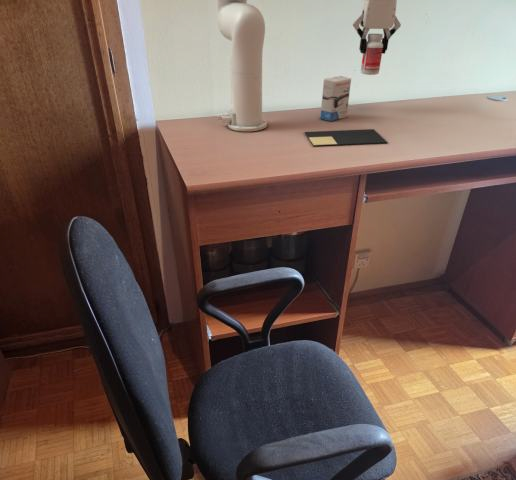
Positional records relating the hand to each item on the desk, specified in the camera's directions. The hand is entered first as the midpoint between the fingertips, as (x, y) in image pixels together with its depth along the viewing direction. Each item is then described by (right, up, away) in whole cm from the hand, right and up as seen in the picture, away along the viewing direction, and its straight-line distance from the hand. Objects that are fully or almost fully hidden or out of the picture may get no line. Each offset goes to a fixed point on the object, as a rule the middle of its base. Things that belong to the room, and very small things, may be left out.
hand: (372, 52), depth 148 cm
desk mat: (-12, -34, -13) cm, 39 cm away
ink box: (-12, -20, +4) cm, 24 cm away
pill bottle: (0, -5, +4) cm, 6 cm away
